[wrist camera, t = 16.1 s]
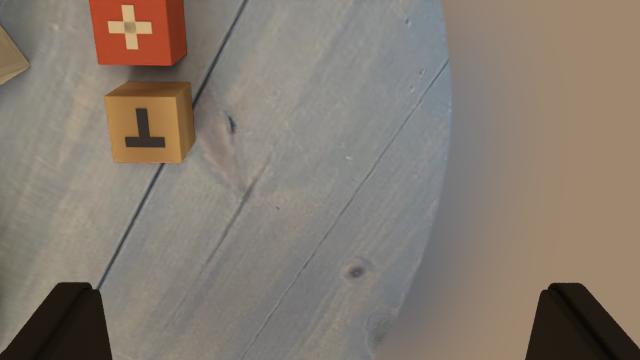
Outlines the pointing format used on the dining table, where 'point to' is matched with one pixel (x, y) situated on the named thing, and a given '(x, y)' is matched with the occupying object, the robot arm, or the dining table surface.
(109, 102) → the wooden letter t cube
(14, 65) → the small box
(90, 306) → the robot arm
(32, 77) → the dining table surface
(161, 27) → the red cross cube
